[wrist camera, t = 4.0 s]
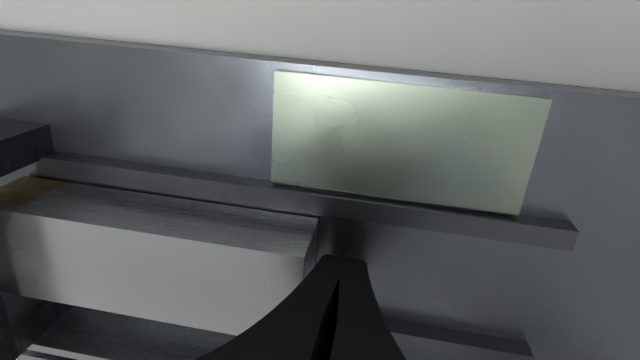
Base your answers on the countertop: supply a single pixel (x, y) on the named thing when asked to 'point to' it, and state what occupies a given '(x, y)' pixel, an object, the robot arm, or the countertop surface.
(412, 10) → the countertop surface
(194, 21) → the countertop surface
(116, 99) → the heatsink base
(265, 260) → the rectangular block
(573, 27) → the countertop surface
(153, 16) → the countertop surface
